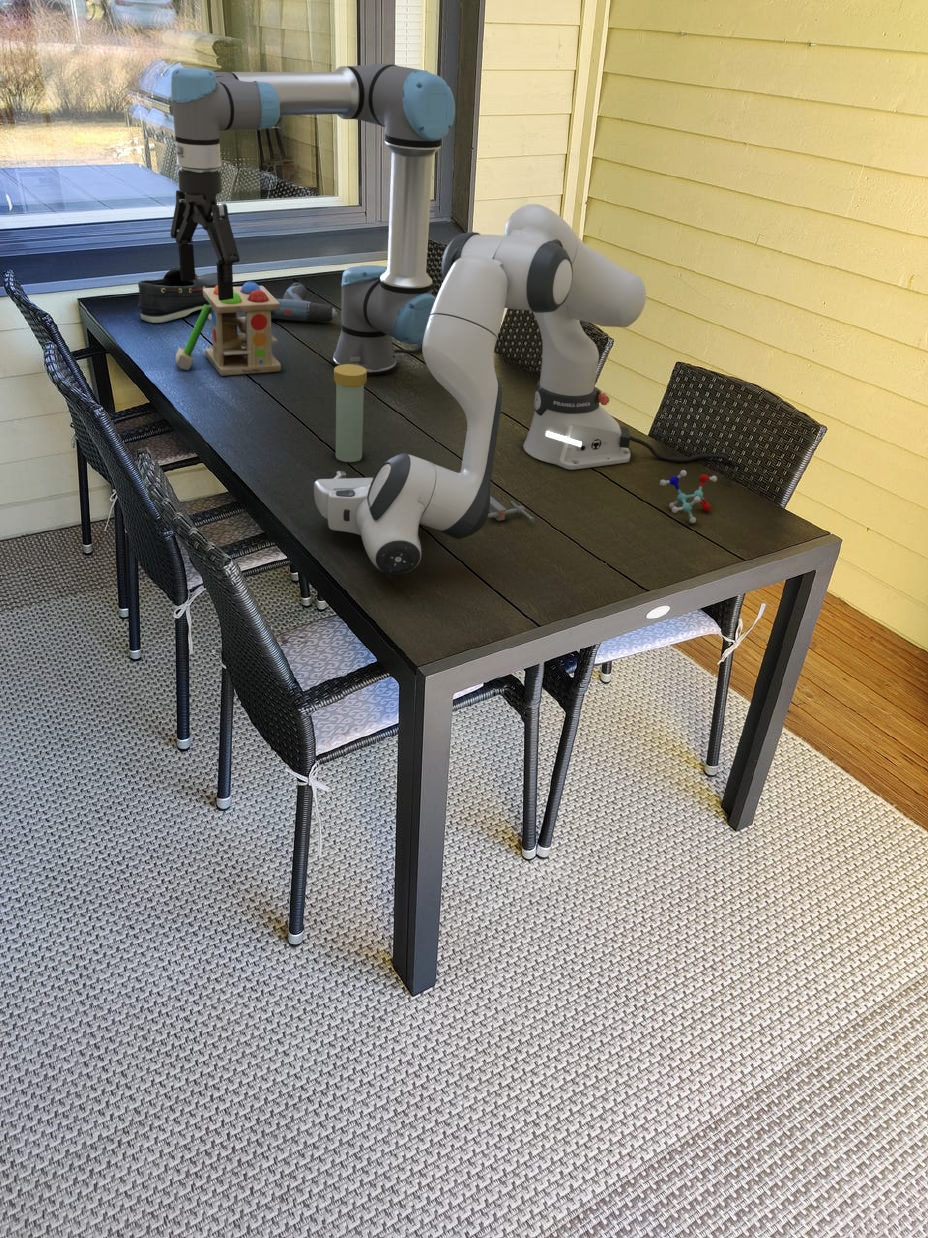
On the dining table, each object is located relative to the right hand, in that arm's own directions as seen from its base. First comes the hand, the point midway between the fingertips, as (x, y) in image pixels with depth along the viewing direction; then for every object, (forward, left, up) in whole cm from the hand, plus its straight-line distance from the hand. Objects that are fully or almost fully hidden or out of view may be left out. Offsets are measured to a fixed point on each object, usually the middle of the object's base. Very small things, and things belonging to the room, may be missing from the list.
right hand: (367, 473), depth 174 cm
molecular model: (-60, +7, -7) cm, 61 cm away
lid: (0, -22, +11) cm, 24 cm away
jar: (0, -22, -7) cm, 23 cm away
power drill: (-2, -112, -7) cm, 112 cm away
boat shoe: (+30, -116, -7) cm, 120 cm away
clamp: (-23, +4, -7) cm, 24 cm away
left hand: (+25, -37, +21) cm, 50 cm away
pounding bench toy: (+21, -72, -7) cm, 76 cm away
